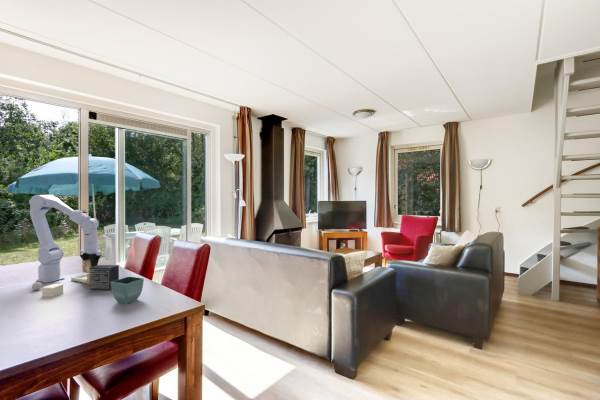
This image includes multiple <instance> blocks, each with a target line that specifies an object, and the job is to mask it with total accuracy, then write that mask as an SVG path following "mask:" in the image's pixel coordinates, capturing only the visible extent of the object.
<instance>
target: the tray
mask: <svg viewBox="0 0 600 400" xmlns="http://www.w3.org/2000/svg"><path fill="white" fill-rule="evenodd" d="M87 274H89V273H84V274H79V275H76V276H71V277H70V279H71V280H70V281H71V282H75V281H77V282H76V283H80V282H82V283H83V284H86V283H87ZM82 283H81V284H82Z"/></svg>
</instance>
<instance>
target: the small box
mask: <svg viewBox="0 0 600 400" xmlns="http://www.w3.org/2000/svg"><path fill="white" fill-rule="evenodd" d="M119 267H120V265H119V264H97V266H93V267H90V268H89V270H90V285H89V290H90V291H91V290H92V291H112V288H111V282H112V281H115V280H119V279H120V271H119V270H120V268H119Z"/></svg>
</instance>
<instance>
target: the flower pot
mask: <svg viewBox="0 0 600 400" xmlns="http://www.w3.org/2000/svg"><path fill="white" fill-rule="evenodd" d="M144 280H145V278H143V277H136V276H126V277H121V278H119V280H115V281H112V282H111V288H112V289H111V293H112V296H113V298H114V299H115V301H116V302H117V303H121V304H126V305H127V304H130V303H132V302H133V303H134V302H136V301H137V300H138V299H139V297H140V296H141V294H142V291H143V286H144Z"/></svg>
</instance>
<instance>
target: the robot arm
mask: <svg viewBox="0 0 600 400" xmlns="http://www.w3.org/2000/svg"><path fill="white" fill-rule="evenodd" d="M28 202H29V206H30V207H29V216H30V219H31V222H32V225H33V228H34V231H35V233H36V236H37V239H38V243H39V245H40V247H39V248H38V250H37V261H38V262H39V263H40V265H39V266H38V269H37V270H38V272H37V273H38V279H36V282H40V283H46V284H47V283H51V282H55V281H61V280H63V279H65V277H62V276H61V261H62V260H61V259H63V257H64V250H62V248H60V245H59V244H58V243H56V242H55V241H54V239H53V235H52V231H51V229H50V226H49V223H48V219H47V217H46V213H47V212H48V211H49V210H51V208H54V209H56V210H59V211H60V212H62V213H64V214H65V215H68V219H69V220H70V221H72V222H74V223H75V224H77V225H78V226H80V229H82V233H83V248H82V249H79V256H80V258H81V260H82V261H84V260H88V259H90V262H91V267H93V266H97V265H99V260H100V258H101V257H102V254H103V251H102V250H99V249H98V228H99V226H100V222H99V220H98V219H97V218H94V217H93V218H92V217H91V216H90V215H87V214H85V213H83V212H84V211H83V210H79V209H75V210H74V209H73V208H71V207H70V206H68V204H66V203H65V202H63V201H62V200H60V198H59V197H56V196H55V195H54V194H35V195H33V196H32V197H31V198H30V199H29V200H28Z"/></svg>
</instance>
